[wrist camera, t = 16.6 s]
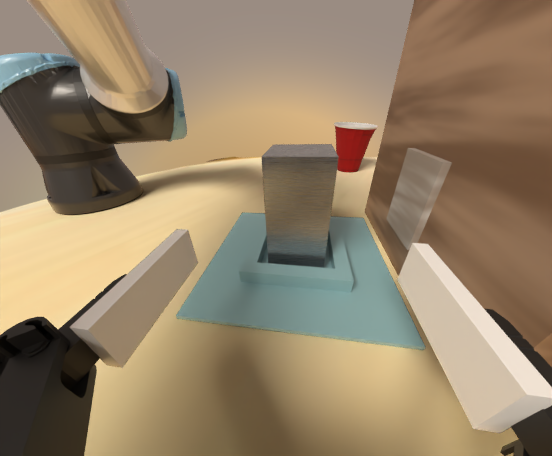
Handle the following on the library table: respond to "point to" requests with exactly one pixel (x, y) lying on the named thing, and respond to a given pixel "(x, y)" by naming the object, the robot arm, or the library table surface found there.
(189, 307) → the socket
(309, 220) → the bar
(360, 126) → the plastic cup
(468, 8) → the door panel
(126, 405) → the library table surface
